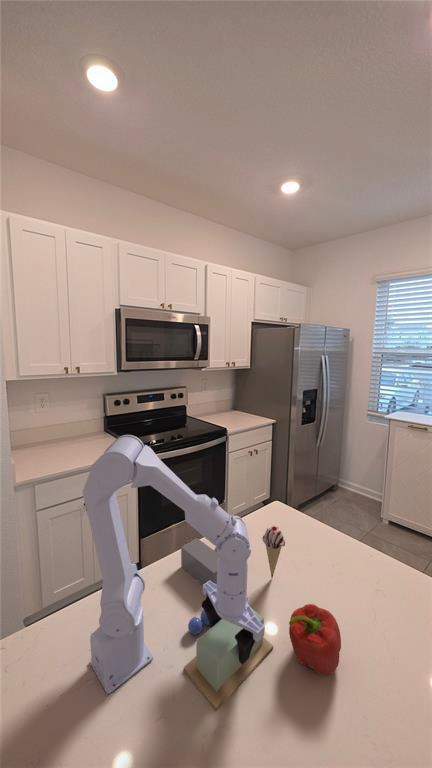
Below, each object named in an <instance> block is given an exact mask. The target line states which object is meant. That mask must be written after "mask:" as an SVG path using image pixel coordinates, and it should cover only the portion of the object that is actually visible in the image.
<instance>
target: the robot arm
mask: <svg viewBox="0 0 432 768" xmlns="http://www.w3.org/2000/svg"><path fill="white" fill-rule="evenodd" d="M130 482H132V484H131V486H130V488H131V489H136V488H141V487H146V486H150V487H152V488H153V489H154V490H155V491H157V492H159V493H160V494H161V495H163V496H164V498H166V499H168V500H170V502H172V503H174V504H175V505H176V506H177V507H178V508H179V509H181V510H183V511H184V519H185V522H186V523H188V525H190V526H191V527H192V528H193V529H194V530H196V531H197V532H198V533H199V534H201V536H203V537H204V538H205V539H206V540H207V541H209V542H210V543H211V544H212V545H213V546H215V547H216V546H217V547H218V550H217V554H218V560H217V585H216V584H214V583H213V582H211V581H210V580H209V581H208V582H206V583H205V584H204V585H202V594H203V595H204V596H205V599H204V600H203V601H202V602H201V608H202V610H204V611H205V613H206V615H207V617H208V620H209V623H210V624H209V626H210V629H211V628H212V627H213V626H214V625H215V624H217V623H218V622H219V621H220V620H221V619H224V620H226V621H228V622H230V623H232V624H235V625H237V626H239V627H241V628H243V629H242V630H241V631H239V632H238V633H237V634H236V635H235V639H236V641H237V644H238V648H239V661H240V663H241V664H244V663H245V662H246V661H247V660H248V659H249V657H250V653H251V650H252V647H253V645H254V643H255V641H256V642H258V641H259V640H260V639H261V638H262V637H264V636H265V629H266V628H265V624H262V623H261V622H260V621H259V620H258V618H257V617H256V615H255V614H254V612H253V611H252V609H253V608H252V607H251V606H250V605H249V602H248V600H249V594H247V593H248V569H249V568H248V567H249V565H248V564H249V563H248V560H249V558H250V557H251V554H252V550H251V546H250V545H251V544H250V540H249V539H250V538H249V532H248V528H247V525H246V522H244V521H243V519H242V517H240V516H238V515H230V514H229V513H227V511H225V510H224V509H223V508H222V507H221V506H220V505H219V501H218V500H217V499H216V497H212V498H210V497H209V496H208V495H207V494H196V493H195V492H194V491H193V490H191V488H190V487H189V486H188V485H187V484H186V483H185V482H183V480H181V479H180V477H178V476H177V475H176V474H175V473H174V471H172V470H171V469H170V468H169V467H168V465H166V464H165V463H164V462H163V461H162V460H161V459H160V457H158V456H157V454H156V453H155V452H154V449H152V447H150V446H148V445H147V444H144V442H143V441H142V440H141V439H140V438H138V437H137V436H135V435H132V434H123V435H120V436H118V437H117V438H116V439H115V440H114V441H113V442H112V443H111V444H110V445H109V446H108V447H107V448H106V449H105V450H104V452H103V454H102V455H100V456H99V457H98V459H96V460H95V461H94V462H93V464H92V465H91V466H90V467H89V474H88V476H87V479H86V481H85V483H84V486H83V488H82V496H83V500H84V504H85V509H86V510H85V511H86V513H87V518H88V522H89V525H90V530H91V534H92V539H93V542H94V546H95V551H96V557H97V560H98V564H99V568H100V573H101V578H102V588H101V593H100V600H99V604H100V605H99V606H100V611H101V612H100V615H99V620H98V622H99V623H98V624H99V627H98V628H97V629H96V630H94V631H93V632H91V634H90V637H89V640H90V642H89V643H90V657H91V658H90V659H89V663H90V665H91V667H92V668H93V670H94V673H95V675H96V676H97V678H98V680H99V682H100V683H102V684H101V685H102V687H103V689H104V691H105V693H106V694H108V693H109V694H112V692H114V690H115V691H116V689H117V688H118V687H120V686H121V685H122V684H123V683H125V682H126V681H128V679H130V678H131V677H133V676H134V675H135V674H136V673H138V672H139V671H140V670H142V668H143V667H145V666H146V665H148V664H149V663H150V662H151V661H152V660H154V655H153V653H152V652H151V651H150V650H149V648H148V647H147V645H146V644H145V634H144V633H145V628H144V627H145V625H144V608H143V605H142V603H141V602H142V601H141V599H142V595H143V593H144V591H145V589H146V581H145V578H144V577H143V576H142V575H141V574H140V572H139V570H138V566H137V564H136V563H132V561H131V558H130V553H129V549H128V544H127V539H126V534H125V529H124V524H123V520H122V517H121V516H122V515H121V512H120V511H121V510H120V507H119V502H118V498H117V494H116V491H118V490H119V489H122V488H123V487H126V485H128V484H129V483H130ZM251 608H252V609H251Z"/></svg>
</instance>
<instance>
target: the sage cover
mask: <svg viewBox="0 0 432 768" xmlns="http://www.w3.org/2000/svg"><path fill="white" fill-rule="evenodd" d="M251 609H252V611H253V612H254V614H255V615H256V617H257V618H258V620H259V621H260V622H261V623H262V624H263V625H265V624H264V622H265V621H264V619H265V618H264V617H263V616H262V615H260V613H258V612H257V611H255V609H253V608H252V607H251ZM242 629H243V628H241V627H239V626H237V625H235V624H232V623H230V622H228V621H226V620H224V619H221V620H220V621H219V622H218V623H217V624H215V625H214V626H213V627H212V628H211V627H210V628H209V629H208V630H207V631H205V632H204V634H202V635H201V636H200V637H199V638H197V639H196V642H195V644H196V648H195V650H196V652H195V653H196V655H195V657H196V668H197V669H198V670H199V671H200V673H201V674H202V675H203V676H204V677H205V679H206V680H207V681H208V682H209V683H210V684H211V686H212V687H213V688H214V689H215V690H216V692H217V691H218V690H219V689H220V688H221V687H222V686H223V685H224V684H225V683H226V681H227V680H228V679H229V678H230V677H231V676H232V675H233V674H234V673H235V672H236V671H237V670H238V669H239V668H240V667H241V666H242V665H243V664H241V663H240V661H239V648H238V644H237V641H236V639H235V635H236V634H237V633H238V632H239V631H241V630H242ZM263 637H264V636H263ZM263 637H262V638H261V639H260V640H259V641H258V642H256V641H255V643H254V645H253V647H252V650H251V653H250V657H251V655H252V654H253V653H254V652H255V651H256V650H257V649H258V648H259V647H260V646H261V645H262V644H263ZM250 657H249V658H250Z"/></svg>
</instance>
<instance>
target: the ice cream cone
mask: <svg viewBox="0 0 432 768" xmlns="http://www.w3.org/2000/svg"><path fill="white" fill-rule="evenodd" d="M262 542H263V543H264V544H265V549H266V553H267V559H268V560H267V561H268V565H269V570H270V576H271V579H273V577H274V574H275V569H276V567H277V565H278V561H279V557H280V554H281V549H282V547H285V546H286V539H285V537H284V535H283V533H282V531H281V529H279V527H277V526H275V525H273V526H271V527H268V528H266V531H265V533H264V535H263V536H262Z"/></svg>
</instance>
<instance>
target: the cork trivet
mask: <svg viewBox="0 0 432 768" xmlns="http://www.w3.org/2000/svg"><path fill="white" fill-rule="evenodd" d="M273 649H274V645H273V644H272V643H271V642H270V641H268V640H267V639H266V638H265V637H264V636H263V644H262V645H261V646H260V647H259V648H258V649H257V650H256V651H255V652H254V653H253V654H252V655H251V657H250V658H249V659H248V660H247V661H246V662H245V663H244V664H243V665H242V666H241V667H240V668H239V669H238V670H237V671H236V672H235V673H234V674H233V675H232V676H231V677H230V678H229V679H228V680H227V681H226V683H225V684H224V685H223V686H222V687H221V688H220V689H219V690H218V691H217V692H216V690H215V689H214V688H213V687H212V686H211V684H210V683H209V682H208V681H207V680H206V679H205V677H204V676H203V675H202V674H201V673H200V671H199V670H198V669H197V668H196V656H194V657H193V658H192V659H191V660H190V661H189V662H188V663H187V664H185V665H184V666H183V671H184V673H186V675H187V676H188V678H189V679H190V680H191V681H192V683H194V685H195V686H196V688H197V689H198V690H199V691H200V692H201V693H202V695H203V696H204V697H205V698H206V699H207V702H209V703H210V705H211V706H212V707H213V708H214V710H215V711H217V710H218V709H219V708H220V707H221V706H222V705H223V704H224V703H225V702H226V701H227V699H228V698H230V696H231V695H232V694H233V693H234V692H235V690H236V689H237V688H238V687H240V685H241V684H242V683H243V682H244V681H245V680H246V679H247V678H248V677H249V675H250V674H251V673H252V672H253V671H254V670H255V669H256V668H257V667H258V666H259V664H261V662H263V660H264V659H265V658H266V656H267V655H268V654H269V653H270V652H271V651H272V650H273Z"/></svg>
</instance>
